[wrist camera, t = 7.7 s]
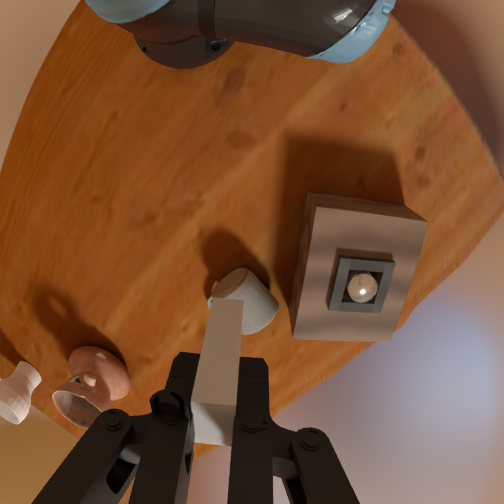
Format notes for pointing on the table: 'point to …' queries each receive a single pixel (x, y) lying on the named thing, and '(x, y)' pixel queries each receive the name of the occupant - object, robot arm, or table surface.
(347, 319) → the socket block
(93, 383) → the ceramic jug
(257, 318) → the ceramic mug
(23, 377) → the cup
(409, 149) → the table surface
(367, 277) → the peg
